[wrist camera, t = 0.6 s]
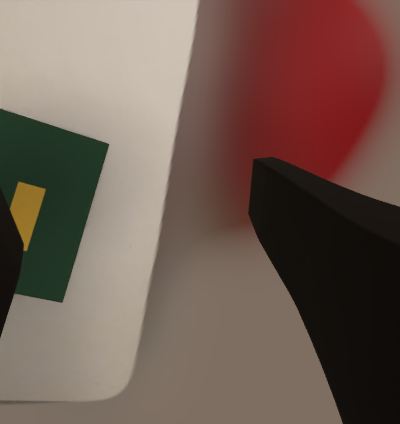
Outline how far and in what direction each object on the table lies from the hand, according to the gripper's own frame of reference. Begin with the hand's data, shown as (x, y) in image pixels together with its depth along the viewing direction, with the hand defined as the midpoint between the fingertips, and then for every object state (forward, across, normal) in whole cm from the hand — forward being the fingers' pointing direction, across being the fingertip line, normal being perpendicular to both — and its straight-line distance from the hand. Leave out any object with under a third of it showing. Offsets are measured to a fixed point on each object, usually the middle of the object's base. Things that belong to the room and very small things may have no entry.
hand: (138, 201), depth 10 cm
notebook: (+20, +10, +12) cm, 26 cm away
